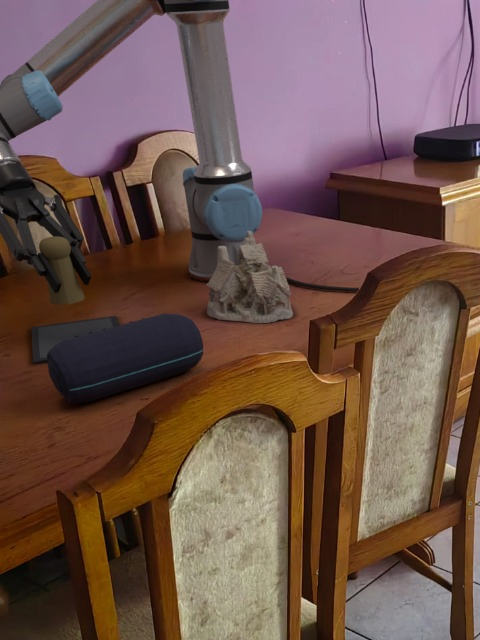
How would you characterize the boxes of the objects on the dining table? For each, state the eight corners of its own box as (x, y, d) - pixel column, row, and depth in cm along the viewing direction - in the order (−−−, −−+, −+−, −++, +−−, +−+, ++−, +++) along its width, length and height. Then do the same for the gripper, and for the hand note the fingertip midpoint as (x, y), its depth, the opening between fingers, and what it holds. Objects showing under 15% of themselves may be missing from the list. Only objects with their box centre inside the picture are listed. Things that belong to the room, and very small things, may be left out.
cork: (55, 295, 156) (39, 234, 150) (88, 293, 156) (74, 232, 150) (46, 305, 151) (30, 242, 145) (80, 303, 151) (65, 241, 145)
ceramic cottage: (202, 306, 172) (194, 231, 164) (279, 298, 178) (275, 225, 169) (219, 334, 161) (212, 255, 152) (301, 324, 166) (298, 248, 158)
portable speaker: (183, 358, 149) (173, 302, 143) (213, 373, 143) (204, 315, 137) (46, 399, 135) (29, 339, 129) (73, 418, 128) (57, 355, 123)
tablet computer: (116, 318, 168) (115, 315, 168) (126, 350, 152) (126, 347, 152) (31, 329, 163) (31, 326, 163) (33, 364, 148) (32, 361, 147)
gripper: (48, 182, 159) (113, 284, 158) (-48, 197, 147) (22, 308, 147) (55, 154, 153) (123, 261, 152) (-45, 168, 142) (28, 283, 141)
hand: (73, 284), depth 150 cm, fingers closed on cork, 5 cm apart
